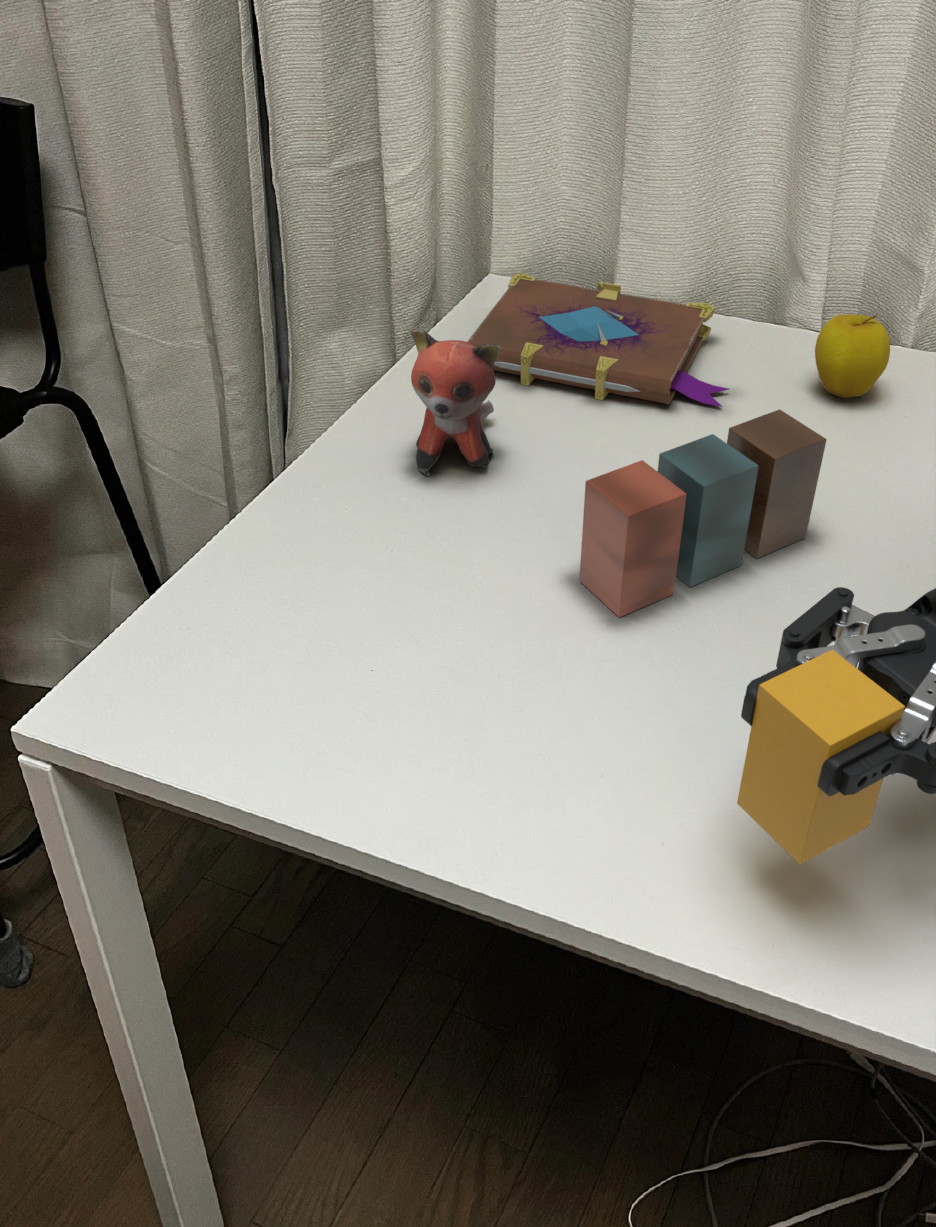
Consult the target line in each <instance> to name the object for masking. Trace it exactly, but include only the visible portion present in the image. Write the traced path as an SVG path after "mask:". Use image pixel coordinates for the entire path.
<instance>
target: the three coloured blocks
mask: <svg viewBox="0 0 936 1227" xmlns="http://www.w3.org/2000/svg"><path fill="white" fill-rule="evenodd" d="M826 445H827V438H826V437H824V436H822V434H820V433H818V432H816V431H815V430H813V429H812V428H810V427H808V426H807V425H805V424H804V423H802V422H800V421H799V420H798V419H796V418H794V417H792V416H791V415H790V414H788V413H786V412H785V411H783V410H782V409H777V410H774V411H771V412H769V413H766V414H763V415H761V416H757V417H754V418H752V419H750V420H747V421H744V422H741V423H739V424H736V425H733V426H730V427H728V433H727V440H726V441H724V440H723V439H721V438H720V437H718V436H717V435H715V434H714V433H712V434H711V433H710V434H709V435H706V436H703V437H701V438H698V439H696V440H693V441H690V442H687V443H684V444H682V445H678V446H677V447H674V448H670V449H668V450H665V451H662V452H660V453H659V454H658V463H657V469H655V468H654V467H652V466H651V465H650V464H648V463H647V462H646V461H644V460H642V459H641V460H638V461H636V462H633V463H631V464H628V465H625V466H622V467H619V468H617V469H614V470H611V471H608V472H606V473H604V474H601V475H598V476H595V477H593V478H590V479H587V480H585V484H584V499H583V514H582V515H583V516H582V517H583V519H582V532H581V533H582V534H581V548H580V562H579V566H580V567H579V578H578V580H579V582H580V583H581V584H582V585H583V586H584V587H585V588H587V589H588V591H589V592H591V593H592V594H593V596H595V597H596V598H597V599H598V600H600V601H601V602H602V603H603V604H604V605H605V606H606V607H607V608H608V609H610V611H611V612H612V613H613V614H614V615H616V616H617V617H618V618H622V617H625V616H627V615H629V614H631V613H634V612H636V611H639V610H641V609H643V608H645V607H647V606H650V605H652V604H654V603H656V602H659V601H661V600H663V599H666V598H669V597H671V596H673V595H675V586H676V579H677V578H678V579H680V581H682V582H683V583H684V584H685V585H687V586H688V587H689V588H692V587H694V586H696V585H699V584H702V583H703V582H707V581H708V580H711V579H713V578H715V577H717V576H720V575H722V574H725V573H727V572H729V571H732V570H734V569H736V568H740V567H741V566H742V563H743V558H744V552H745V551H746V552H747V553H749V555H751V556H753V557H754V558H755V559H761V558H762V557H764V556H766V555H769V554H771V553H774V552H776V551H778V550H780V549H783V548H785V547H788V546H790V545H792V544H795V543H797V542H799V541H801V540H804V539H806V538H807V533H808V529H809V523H810V519H811V515H812V510H813V505H814V500H815V496H816V492H817V491H816V490H817V486H818V482H819V477H820V473H821V472H820V471H821V467H822V464H823V459H824V453H825V450H826Z"/></svg>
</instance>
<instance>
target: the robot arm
mask: <svg viewBox="0 0 936 1227" xmlns="http://www.w3.org/2000/svg"><path fill="white" fill-rule="evenodd" d="M854 597H855V593H854V591H852V590H851V589H849V588H847V587H842V586H840V587H834V588H833V589H832V590H831V591H829V592H828V593H827V594H826V595H825V596H823V597H822V598H821V599H820V600H819V601H817V602H816V603H814V604H813V605H812V606H811V607H810V608H809V609H807V610H806V611H805V612H804V613H802V614H801V615H800V616H798V618H796V619H795V620H794V621H793V622H791V624H789V625H788V626H787V627H785V628H784V629H783V631H782V635H781V639H780V645H779V650H778V655H777V660H776V664H775V667H776V668H775V669H773V670H771V671H768V672H767V673H765V674H762V675H760V676H758V677H756V678H754V679H752V680H750V682H749V683H748V684H747V686H746V690H745V693H744V694H745V695H744V697H743V703H742V709H741V713H740V714H741V715H740V718H741V719H743V721H744V722H746V723H747V724H748V725H749V726H750V727H751V726H752V722H753V717H754V712H755V707H756V701H757V695H758V689H759V685H760V684H762V683H764V682H766V681H768V680H770V679H772V678H774V677H776V676H778V675H780V674H782V673H785V672H787V671H789V670H791V669H793V668H795V667H797V666H799V665H801V664H803V663H805V662H807V661H809V660H811V659H814V658H816V657H818V656H820V655H822V654H824V653H826V652H828V651H830V650H834V651H835V652H836V653H838V654H839V655H840V656H841V657H843V658H844V659H845V660H847V661H848V662H849V663H850V664H852V665H853V666H854V667H856V668H857V669H858V670H859V671H861V672H862V673H863V674H864V675H866V676H867V677H868V678H870V679H871V680H872V681H873V682H875V683H876V684H877V685H879V686H880V687H881V688H882V689H884V690H885V691H886V692H888V693H889V694H890V695H891V696H893V697H894V698H895V699H897V700H898V701H899V702H900V703H902V704H903V705H904V706H905V709H904V712H903V715H902V718H901V719H899V720H897V721H896V723H895V724H894V726H893V727H892V728H891V731H890V733H889V734H887V735H885V734H884V733H883V732H881V731H878V732H877V733H875V734H873V735H871V736H869V737H867V738H865V739H863V740H861V741H859V742H858V743H856V744H854V745H852V746H850V747H848V748H846V749H844V750H842V751H841V752H839V753H837V754H835V755H833V756H831V757H830V758H828V759H826V760H825V762H824V763H823V765H822V768H821V772H820V776H819V780H818V784H817V786H818V787H819V788H820V789H821V790H822V791H823V792H824V793H825V794H827V795H828V796H833V795H835V794H837V793H838V792H840V793H842V794H843V795H851V794H855V793H857V792H859V791H861V790H862V789H863V788H866V787H868V786H869V785H872V784H874V783H875V782H877V781H879V780H881V779H883V780H884V779H885V778H886V777H888V776H893V777H899V776H902V775H904V776H908V778H912V779H914V780H915V781H916V786H917V788H918V789H919V790H920V791H922V792H923V793H924V794H925V793H926V794H929V795H936V741H933V742H931V743H928V742H929V741H930V740H931V738H932V737H933V735H934V734H935V732H936V587H935V588H933V589H930V590H929V591H927V592H926V593H924V594H923V595H922V596H920V597H918V599H916V601H914V602H913V603H912V604H910V605H909V606H908V607H906V608H905V609H903V610H898V611H885V612H880V613H878V614H876V615H874V614H872V613H870V612H868V611H866V610H864V609H862V608H860V607H858V606H856V605H854V604H853V601H854ZM832 643H834V644H833V645H830V644H832Z"/></svg>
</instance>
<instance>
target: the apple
mask: <svg viewBox="0 0 936 1227" xmlns="http://www.w3.org/2000/svg"><path fill="white" fill-rule="evenodd" d="M878 315H879V314H874V315H873V316H867V315H863V314H860V313H859V314H838V315H835V316H832V318H830V319H829V320H828V321H826V322H825V324H824V325H823V326H822V328H821V329H820V331H819V333H818V336H817V339H816V342H815V346H814V359H815V365H816V370H817V374H818V376H819V379H820V382H821V384H822V386H823V388H824V389H825V390H826V392H827V393H828V394H830V395H834V396H837V397H839V398H841V399H847V398H855V397H861V396H863V395H865V394H867V393H868V392H869V391H870V390H871V389H872V388H873V386H874V385H875V384H876V382H877V381H878V379H880V377H881V376H882V375H883V373H884V372H885V370H886V369H887V366H888V363H889V360H890V355H891V341H890V337H889V334H888V331H887V329H886V328H885V326H884V324H882V323H881V322H880V321H878V320H876V318H877V317H878Z"/></svg>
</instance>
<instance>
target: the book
mask: <svg viewBox="0 0 936 1227" xmlns="http://www.w3.org/2000/svg"><path fill="white" fill-rule="evenodd" d="M507 287H508V288H507V289H506V291H505V292H504V293H503V294H502V296H501V297H500V298H499V300H498V301H497V302H496V304H494V306H493V307H492V309H491V310H490V312H488V314H487V315H486V316H485V318H484V319H483V320H482V322H481V323H480V324H479V325H478V327H477V328H476V330H475V331H474V332H473V333H472V334H471V336H470V337H469V338H468V340H467V341H466V342H468V343H470V344H472V345H474V346H475V347H478V346H482V345H485V344H494V345H497V346H500V347H501V350H500V351H499V353H498V357H497V359H496V361H495V363H494V365H493V371H494V372H499V373H504V374H511V375H516V376H520V385H522V386H528V387H529V386H530V385H531V383H532V382H533V381H534V380H535V379H536V380H541V381H547V382H550V383H557V384H561V385H562V384H563V385H567V386H572V387H577V388H582V389H588V390H592V391H595V392H594V399H595V400H597V401H604V400H605V398H606V397H607V396H608V394H613V395H618V396H623V397H629V398H634V399H640V400H645V401H648V402H649V401H650V402H654V403H659V404H665V405H670V404H671V403H672V400H673V398H674V397H675V395H676V393H677V392H679V394H682V395H684V396H685V397H687V398H688V399H690V400H693V401H696V402H698V403H700V404H703V405H708V406H716V407H722V408H723V406H724V405H723V406H722V404H721V403H720V402H718V401H717V400H716V399H715V398H714V397H713V396H712V395H713V394H717V393H720V392H725V391H728V390H730V388H728V387H723V386H719V385H714V384H711V383H707V382H705V381H703V380H700V379H698V378H696V377H695V376H693V375H691V374H689V373H687V372H688V369H689V367H690V365H691V363H692V362H693V359H694V358H695V356H696V354H697V352H698V350H699V348H700V346H701V344H702V343H703V342H704V341H705V340H706V339H707V338H709V336H710V334H711V331H712V327H711V326H709V325H706V324H705V323H707V322H708V321H709V320H710V319H711V318H712V317H713V316H714V313H715V311H716V306H714V305H711V304H710V303H707V302H690V301H689V302H687V303H686V304H685V303H680V302H674V301H669V300H668V301H667V300H661V299H655V298H649V297H644V296H638V295H632V294H626V293H621V291H622V290H621V289H622V285H621V284H613V283H610V282H604V280H600V281H598V284H597V287H596V288H589V287H583V286H578V285H573V284H566V283H559V282H555V281H548V280H543V279H542V280H541V279H536V277H534V276H532V275H528V274H525V273H516V274H515V273H514V274H512V275H511V276H510V279H509V282H508V284H507Z"/></svg>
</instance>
